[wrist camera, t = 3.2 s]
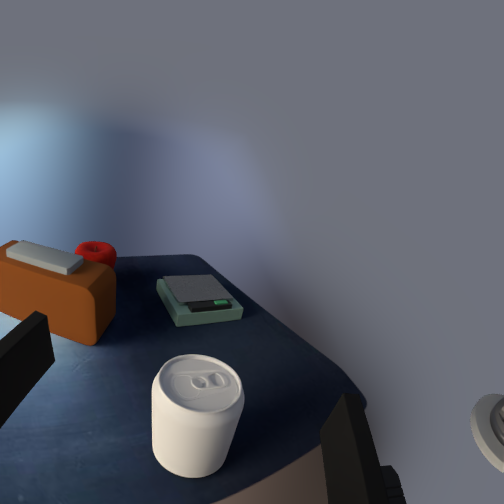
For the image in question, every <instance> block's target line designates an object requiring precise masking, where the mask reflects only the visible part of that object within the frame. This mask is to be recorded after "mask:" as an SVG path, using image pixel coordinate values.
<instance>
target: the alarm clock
mask: <svg viewBox="0 0 504 504" xmlns="http://www.w3.org/2000/svg"><path fill="white" fill-rule="evenodd" d="M35 310H36V311H38V312H40V313H43V314H45V315H47V317H48V324H49V330H50V332H51V333H54V334H56V335H59V336H62V337H64V338H67V339H70V340H73V341H76V342H79V343H82V344H85V345H90V346H91V345H94V344H96V343H97V341H98V340H99V338H100V337H101V335H102V334H103V332H104V331H105V329H106V328H107V326H108V325H109V323H110V322H111V321H112V319H113V318H114V316H115V313H116V274H115V272H114V270H113V269H112V268H111V267H110V266H108V265H106V264H102V263H98V262H94V261H90V260H86V259H83V256H81V255H77V254H73V253H69V252H65V251H61V250H58V249H54V248H50V247H46V246H43V245H39V244H35V243H32V242H28V241H24V240H23V241H20V242H19V241H15V240H12V241H10V242H8V243H6V244H5V245H3V246H1V247H0V311H1V312H3V313H5V314H7V315H10V316H12V317H14V318H17V319H19V320H21V321H23V320H24V319H26V318H27V317H28V316H29V315H30V314H32V313H33V312H34V311H35Z"/></svg>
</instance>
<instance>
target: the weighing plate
mask: <svg viewBox="0 0 504 504" xmlns="http://www.w3.org/2000/svg"><path fill="white" fill-rule="evenodd" d="M163 280H164V281H165V283H166V285H167V286H168V288H169V290H170V291H171V293H172V295H173V296H174V298H175V299H176V301H177V303H178V304H179V305H185V304H188V303H193V302H206V301H218V300H229V301H233V297H232V296H231V295H230V294H229V293H228V292H227V291H226V289H225V288H224V287H223V286H222V285H221V284H220V283H219V282H218V281H217V280H216V279H215V278H214V277H213V276H212V275H189V276H163Z"/></svg>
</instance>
